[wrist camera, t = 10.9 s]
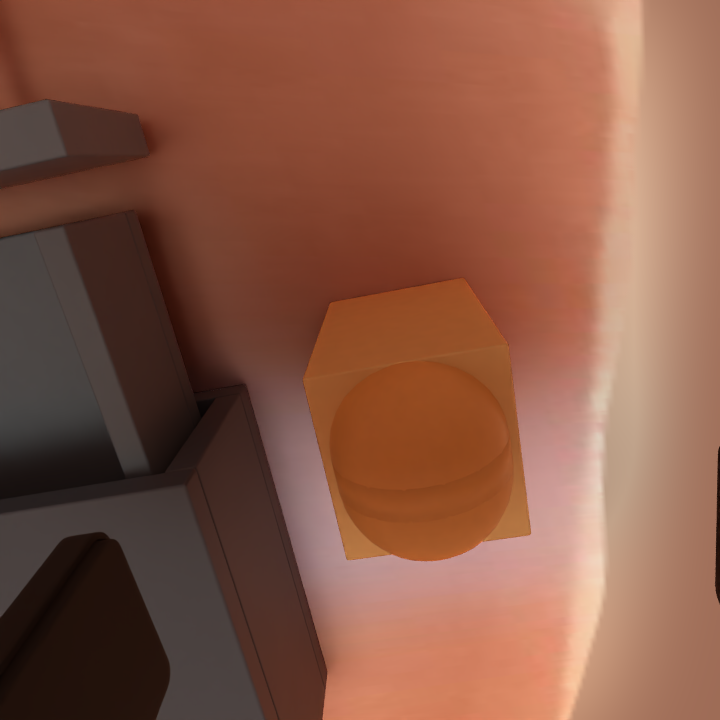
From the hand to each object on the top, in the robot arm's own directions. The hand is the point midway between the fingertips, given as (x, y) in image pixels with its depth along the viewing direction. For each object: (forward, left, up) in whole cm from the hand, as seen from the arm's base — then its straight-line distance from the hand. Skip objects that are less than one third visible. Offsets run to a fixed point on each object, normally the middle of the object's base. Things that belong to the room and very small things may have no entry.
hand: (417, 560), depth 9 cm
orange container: (+1, 0, -12) cm, 12 cm away
